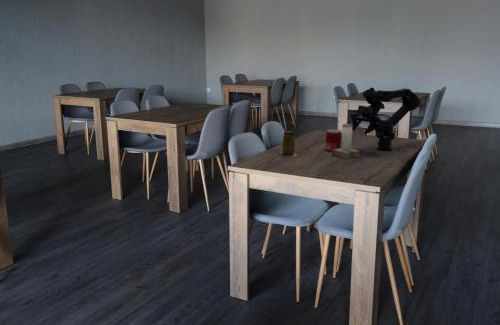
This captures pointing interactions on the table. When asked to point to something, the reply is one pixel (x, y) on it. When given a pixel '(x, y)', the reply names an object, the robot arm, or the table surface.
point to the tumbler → (346, 137)
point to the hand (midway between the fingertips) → (357, 132)
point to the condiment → (288, 144)
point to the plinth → (345, 153)
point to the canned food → (333, 139)
